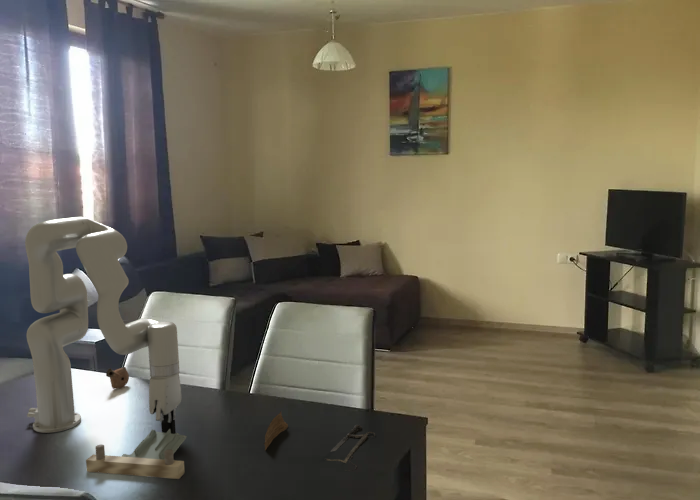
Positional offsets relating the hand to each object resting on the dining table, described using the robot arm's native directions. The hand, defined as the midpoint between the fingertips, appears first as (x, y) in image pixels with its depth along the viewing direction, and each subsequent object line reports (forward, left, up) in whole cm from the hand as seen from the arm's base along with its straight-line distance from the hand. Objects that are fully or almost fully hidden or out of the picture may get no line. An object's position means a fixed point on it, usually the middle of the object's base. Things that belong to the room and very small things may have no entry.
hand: (168, 434), depth 171 cm
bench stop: (0, -18, -2) cm, 18 cm away
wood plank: (+28, +6, -2) cm, 29 cm away
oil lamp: (-35, +34, -2) cm, 49 cm away
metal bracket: (+1, -8, -3) cm, 9 cm away
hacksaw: (+50, +3, -2) cm, 50 cm away
